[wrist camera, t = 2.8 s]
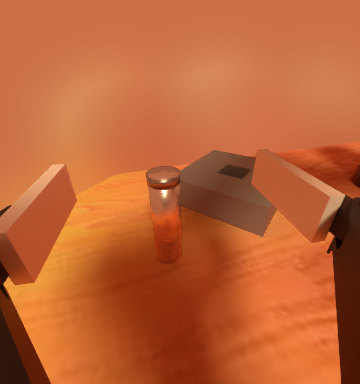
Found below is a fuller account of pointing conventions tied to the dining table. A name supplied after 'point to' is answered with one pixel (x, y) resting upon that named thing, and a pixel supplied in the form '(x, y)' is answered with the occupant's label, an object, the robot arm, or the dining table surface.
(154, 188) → the steel pin
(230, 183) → the block
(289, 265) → the dining table surface
